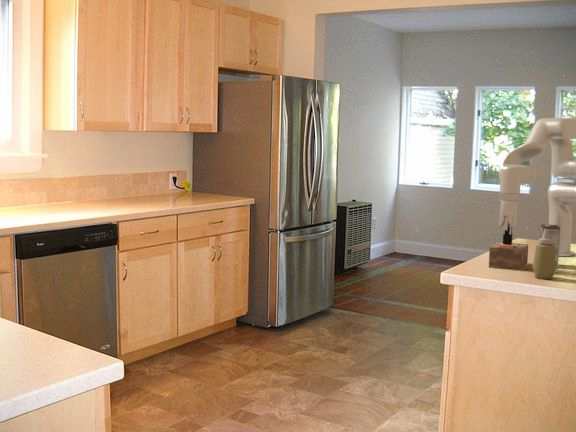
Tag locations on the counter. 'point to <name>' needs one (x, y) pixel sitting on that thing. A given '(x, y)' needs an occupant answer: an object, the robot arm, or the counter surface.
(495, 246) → the plug console
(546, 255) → the squeeze bottle
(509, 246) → the terracotta plug
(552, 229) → the coffee box
